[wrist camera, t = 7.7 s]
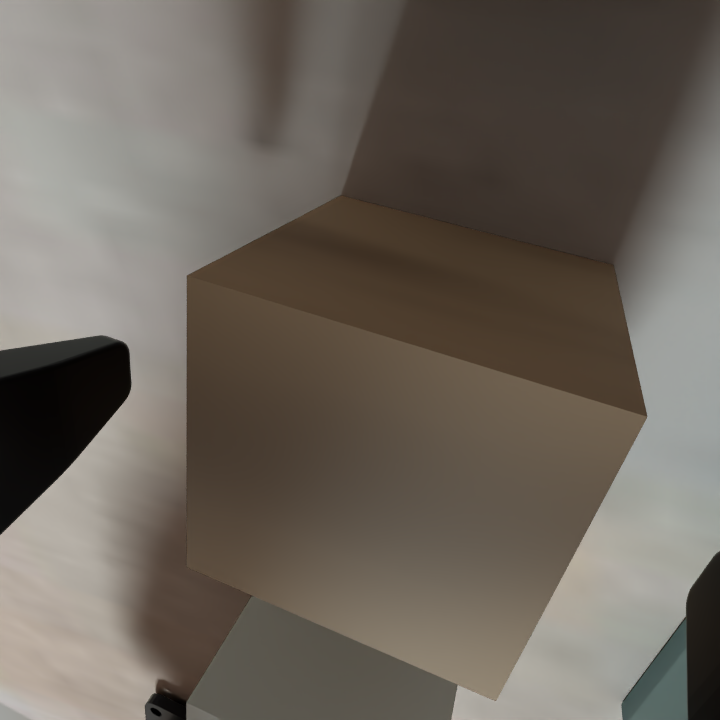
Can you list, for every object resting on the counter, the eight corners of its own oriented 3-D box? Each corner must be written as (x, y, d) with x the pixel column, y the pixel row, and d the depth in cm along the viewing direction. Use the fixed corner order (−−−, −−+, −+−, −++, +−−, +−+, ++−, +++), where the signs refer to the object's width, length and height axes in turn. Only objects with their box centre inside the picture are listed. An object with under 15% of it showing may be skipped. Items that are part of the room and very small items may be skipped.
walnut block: (522, 479, 12) (496, 701, 8) (312, 407, 13) (186, 567, 9) (612, 263, 9) (647, 417, 5) (342, 194, 10) (186, 275, 6)
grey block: (429, 702, 16) (380, 918, 12) (279, 635, 17) (186, 813, 13) (474, 596, 14) (431, 822, 10) (294, 526, 15) (186, 702, 11)
